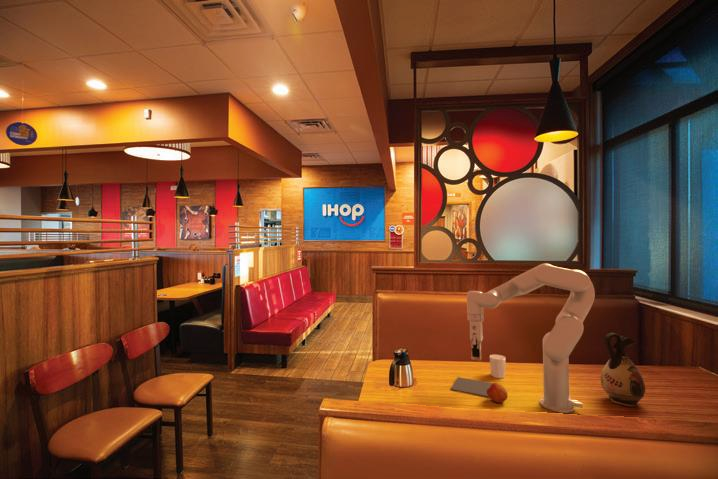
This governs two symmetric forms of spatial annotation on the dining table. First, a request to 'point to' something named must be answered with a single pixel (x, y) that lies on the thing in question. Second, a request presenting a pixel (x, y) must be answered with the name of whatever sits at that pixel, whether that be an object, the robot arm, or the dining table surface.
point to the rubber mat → (471, 386)
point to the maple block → (479, 353)
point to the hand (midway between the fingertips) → (476, 354)
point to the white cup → (497, 366)
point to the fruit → (497, 393)
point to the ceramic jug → (621, 374)
